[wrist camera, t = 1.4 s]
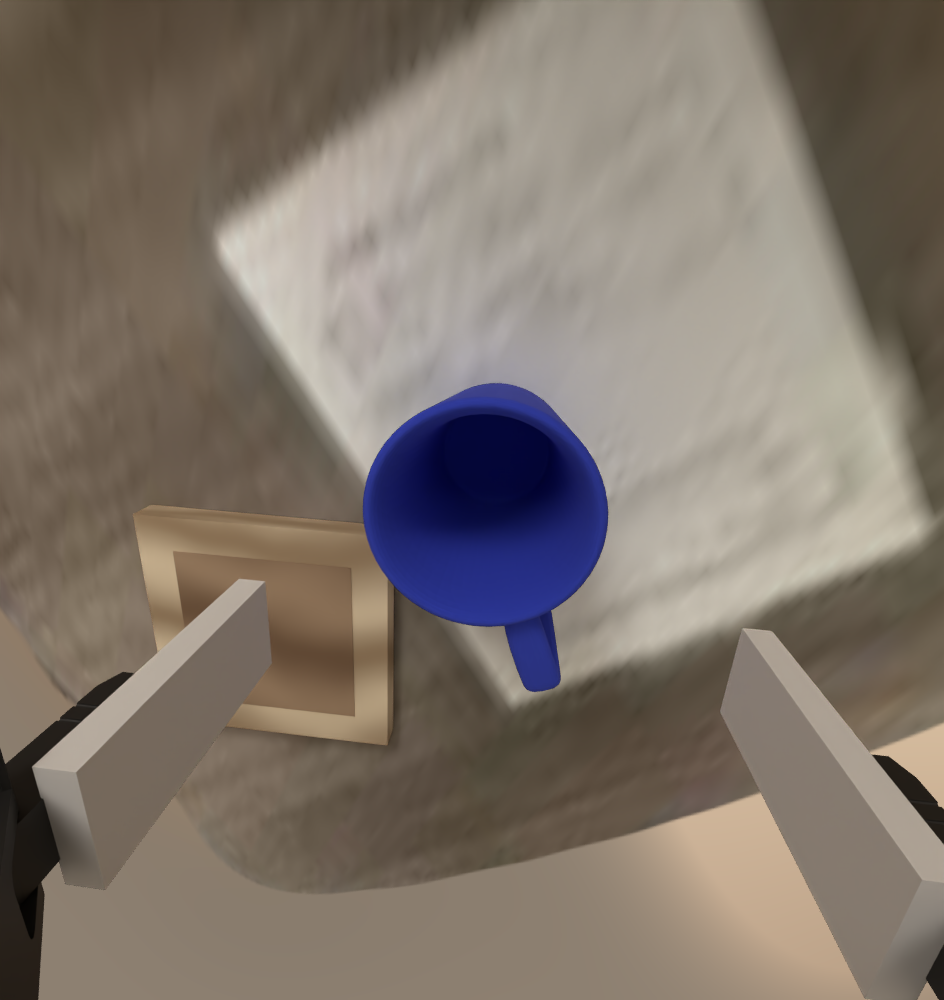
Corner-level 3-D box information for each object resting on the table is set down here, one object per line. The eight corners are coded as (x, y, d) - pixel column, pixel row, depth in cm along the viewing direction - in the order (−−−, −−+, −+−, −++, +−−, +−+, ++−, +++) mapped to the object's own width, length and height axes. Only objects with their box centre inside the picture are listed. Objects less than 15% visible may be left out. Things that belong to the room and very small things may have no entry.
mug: (468, 598, 30) (443, 730, 20) (395, 395, 26) (323, 441, 17) (612, 565, 28) (656, 690, 19) (554, 343, 25) (574, 362, 15)
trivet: (151, 504, 30) (132, 514, 28) (394, 526, 29) (387, 537, 27) (184, 703, 34) (169, 720, 33) (393, 727, 33) (387, 746, 32)
